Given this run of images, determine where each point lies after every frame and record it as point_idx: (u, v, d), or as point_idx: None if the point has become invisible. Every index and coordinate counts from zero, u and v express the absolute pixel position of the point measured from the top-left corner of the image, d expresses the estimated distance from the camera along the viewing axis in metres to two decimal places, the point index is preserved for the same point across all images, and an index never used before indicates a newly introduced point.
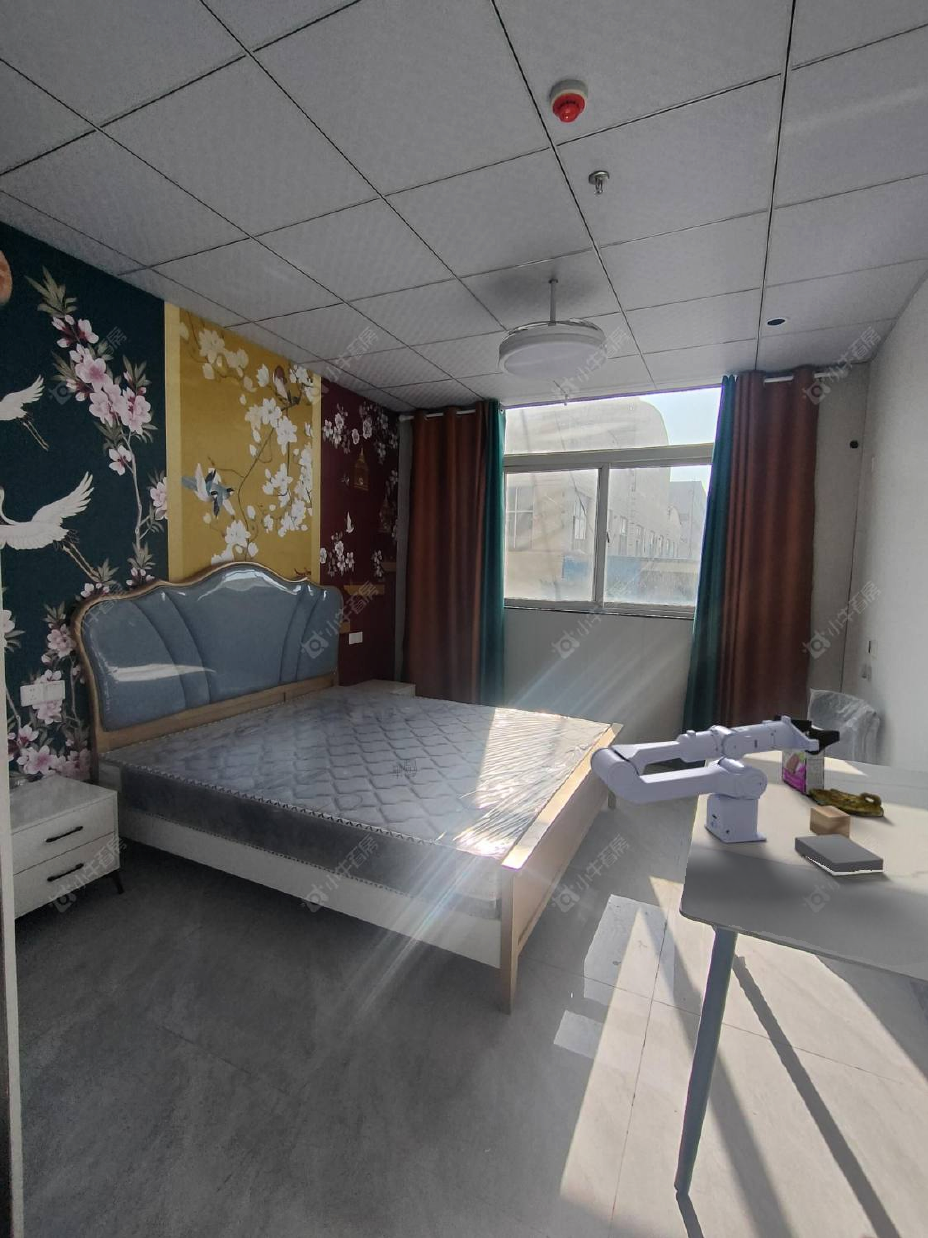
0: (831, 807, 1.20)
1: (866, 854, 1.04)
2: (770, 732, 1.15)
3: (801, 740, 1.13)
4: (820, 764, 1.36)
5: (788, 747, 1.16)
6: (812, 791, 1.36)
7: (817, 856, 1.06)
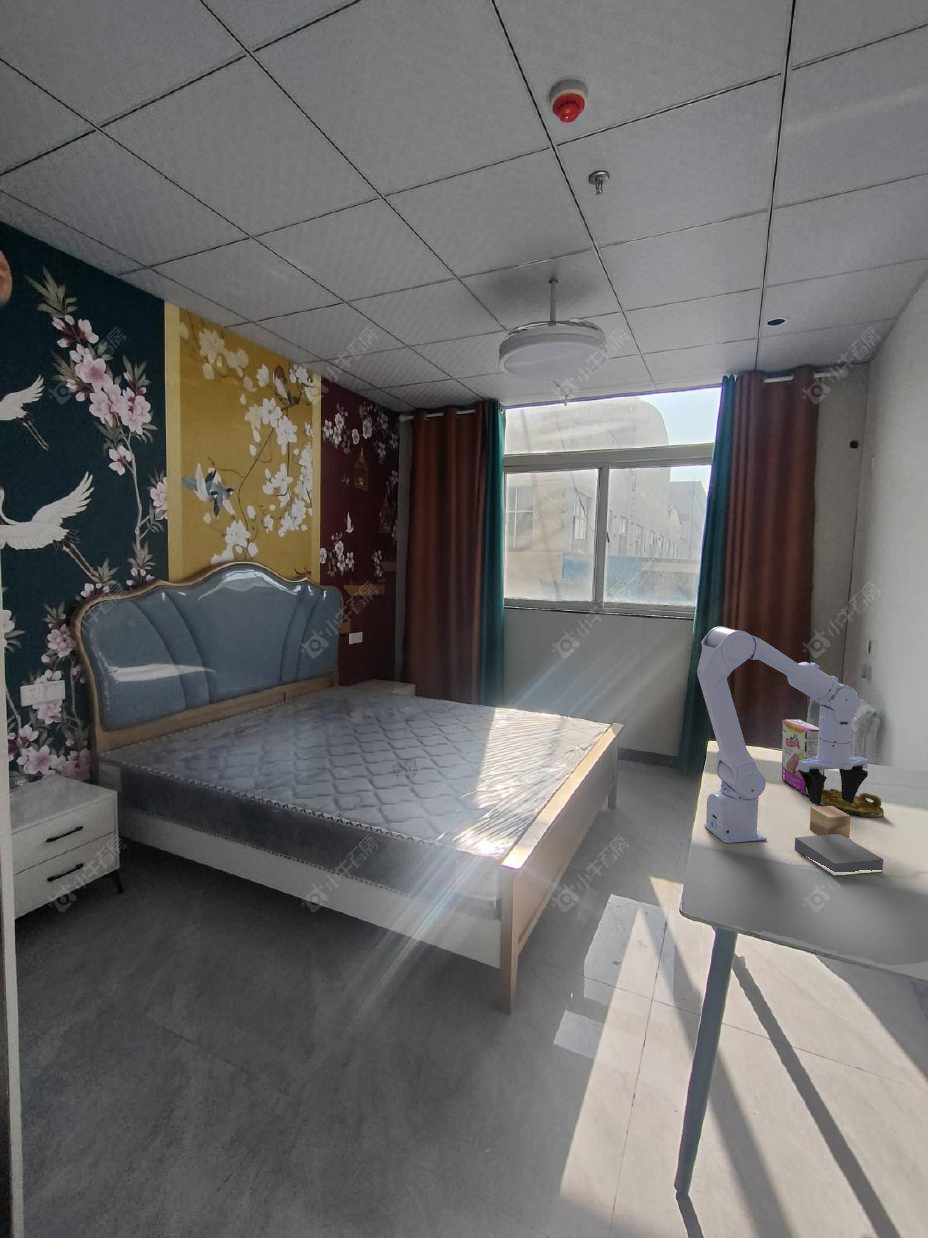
0: (831, 807, 1.20)
1: (866, 854, 1.04)
2: (850, 740, 1.14)
3: (814, 762, 1.16)
4: None
5: (817, 753, 1.18)
6: None
7: (817, 856, 1.06)
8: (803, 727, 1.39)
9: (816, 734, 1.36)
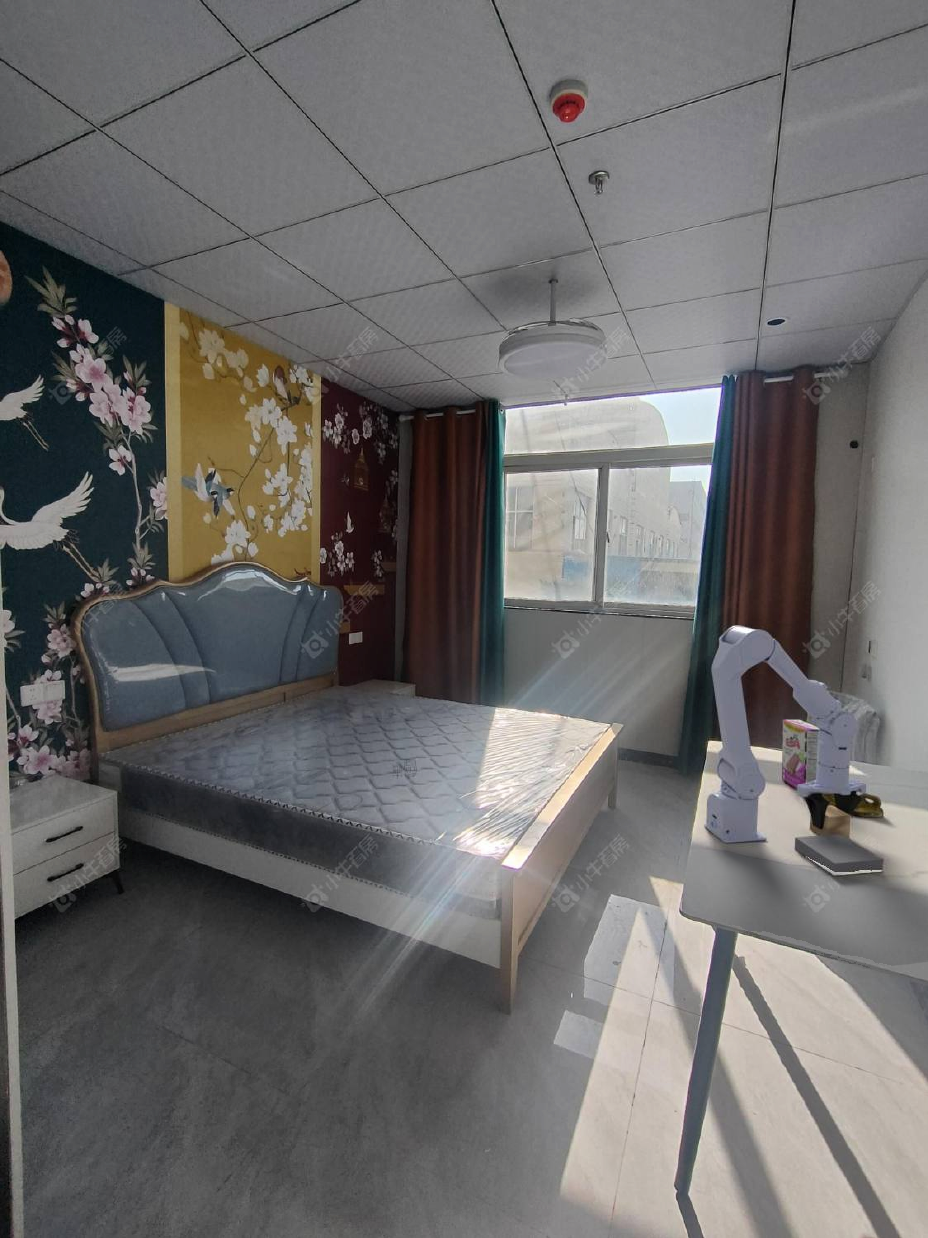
0: (831, 807, 1.20)
1: (866, 854, 1.04)
2: (848, 765, 1.14)
3: (813, 786, 1.16)
4: None
5: (816, 778, 1.19)
6: None
7: (817, 856, 1.06)
8: (803, 727, 1.39)
9: (816, 734, 1.36)
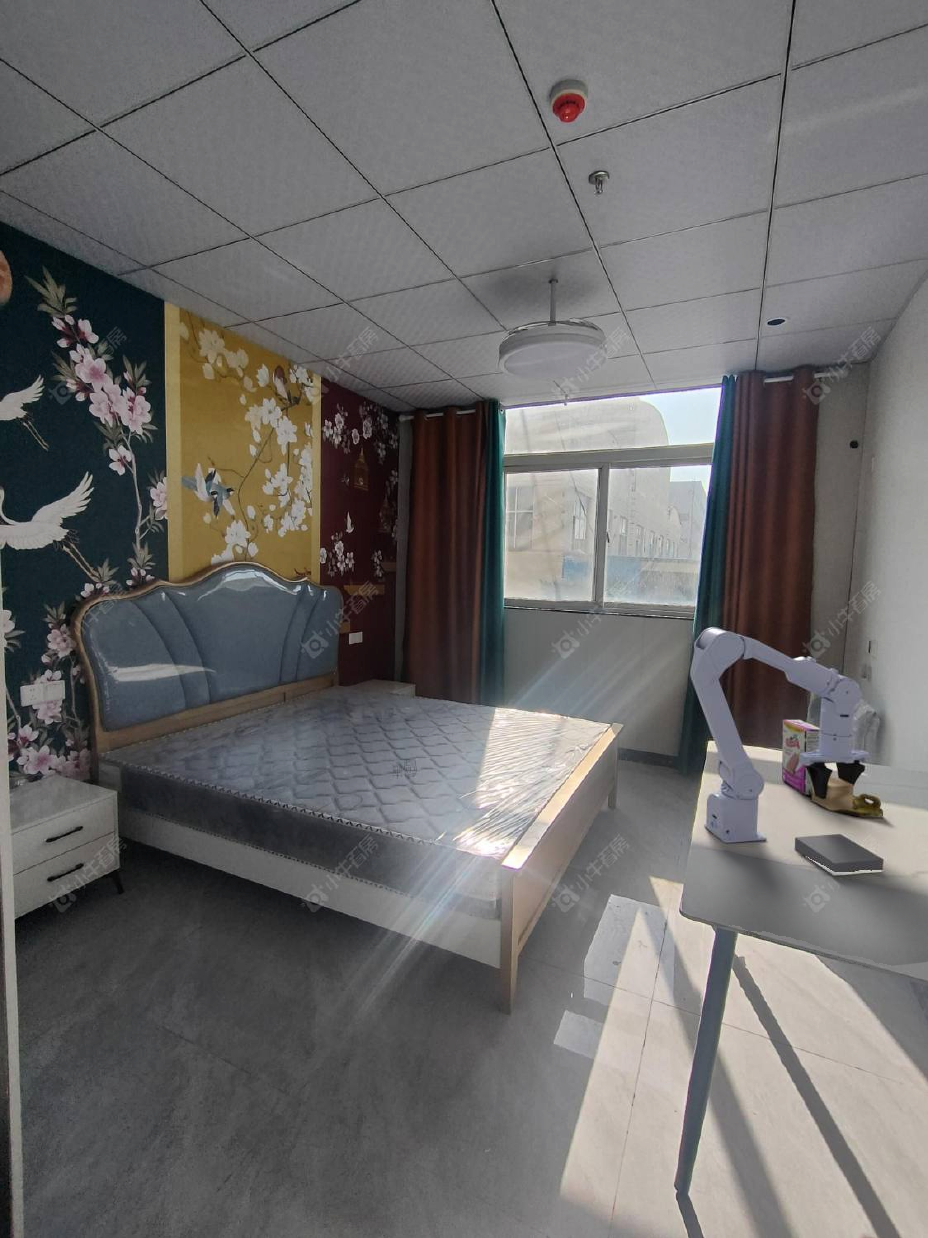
0: (833, 777, 1.17)
1: (866, 854, 1.04)
2: (851, 733, 1.12)
3: (815, 755, 1.14)
4: None
5: None
6: (811, 791, 1.35)
7: (817, 856, 1.06)
8: (803, 727, 1.38)
9: (816, 734, 1.36)
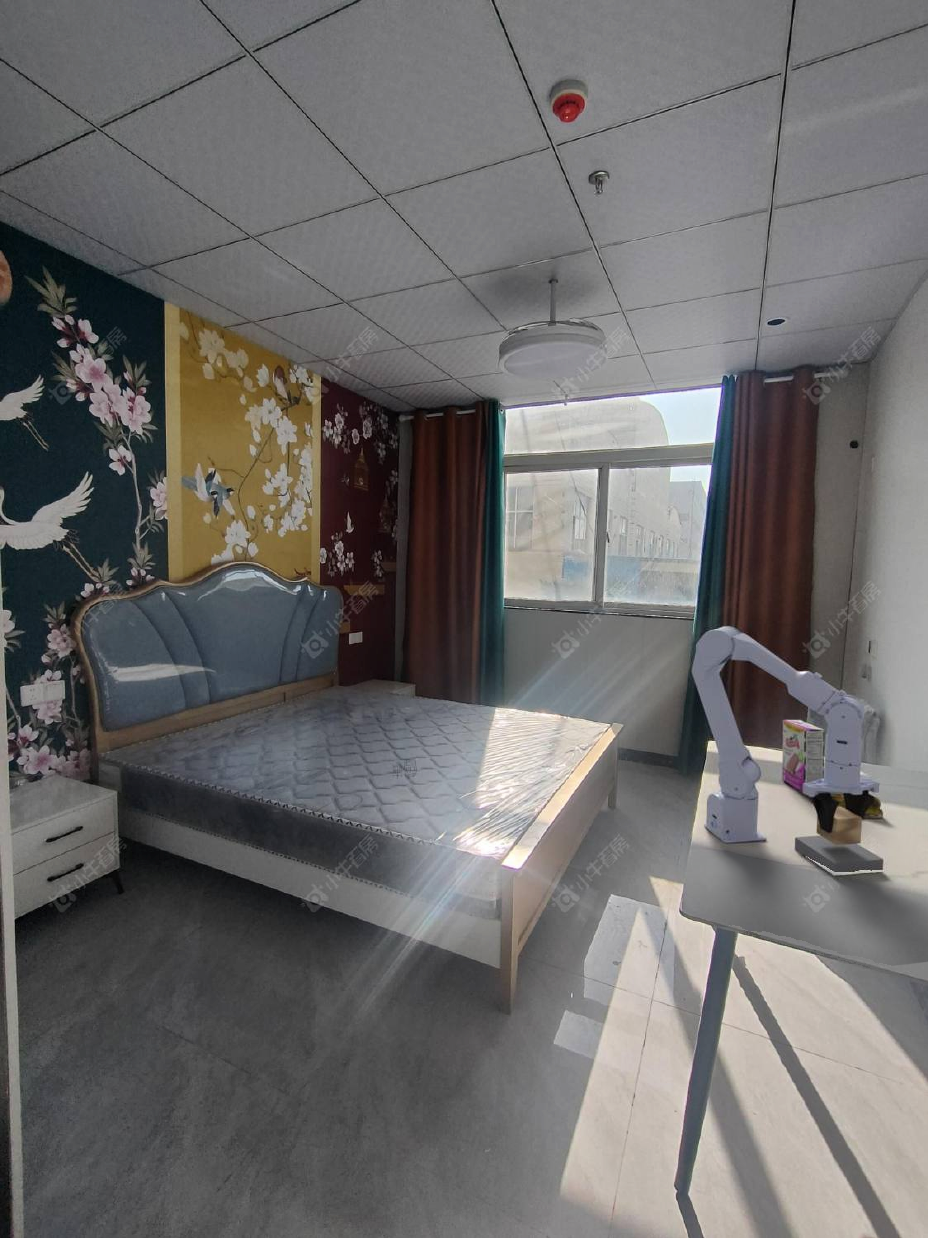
0: (840, 808, 1.08)
1: (866, 854, 1.04)
2: (853, 763, 1.03)
3: (820, 785, 1.05)
4: (820, 764, 1.36)
5: (824, 776, 1.07)
6: None
7: (817, 856, 1.06)
8: (802, 727, 1.38)
9: (816, 734, 1.36)
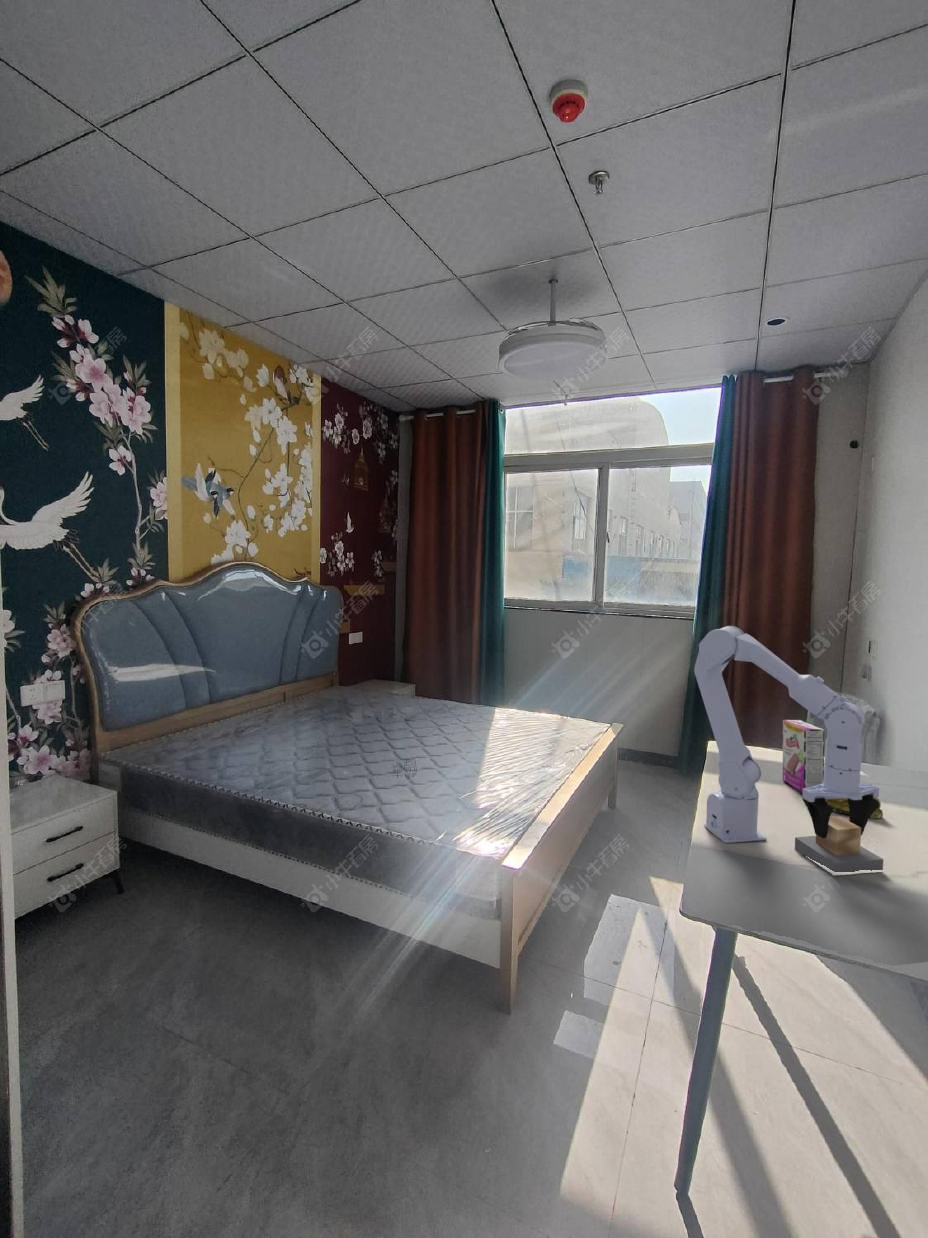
0: (839, 818, 1.09)
1: (866, 854, 1.04)
2: (852, 768, 1.03)
3: (820, 791, 1.05)
4: (819, 764, 1.36)
5: (823, 781, 1.08)
6: None
7: (817, 856, 1.06)
8: (802, 727, 1.38)
9: (815, 734, 1.36)
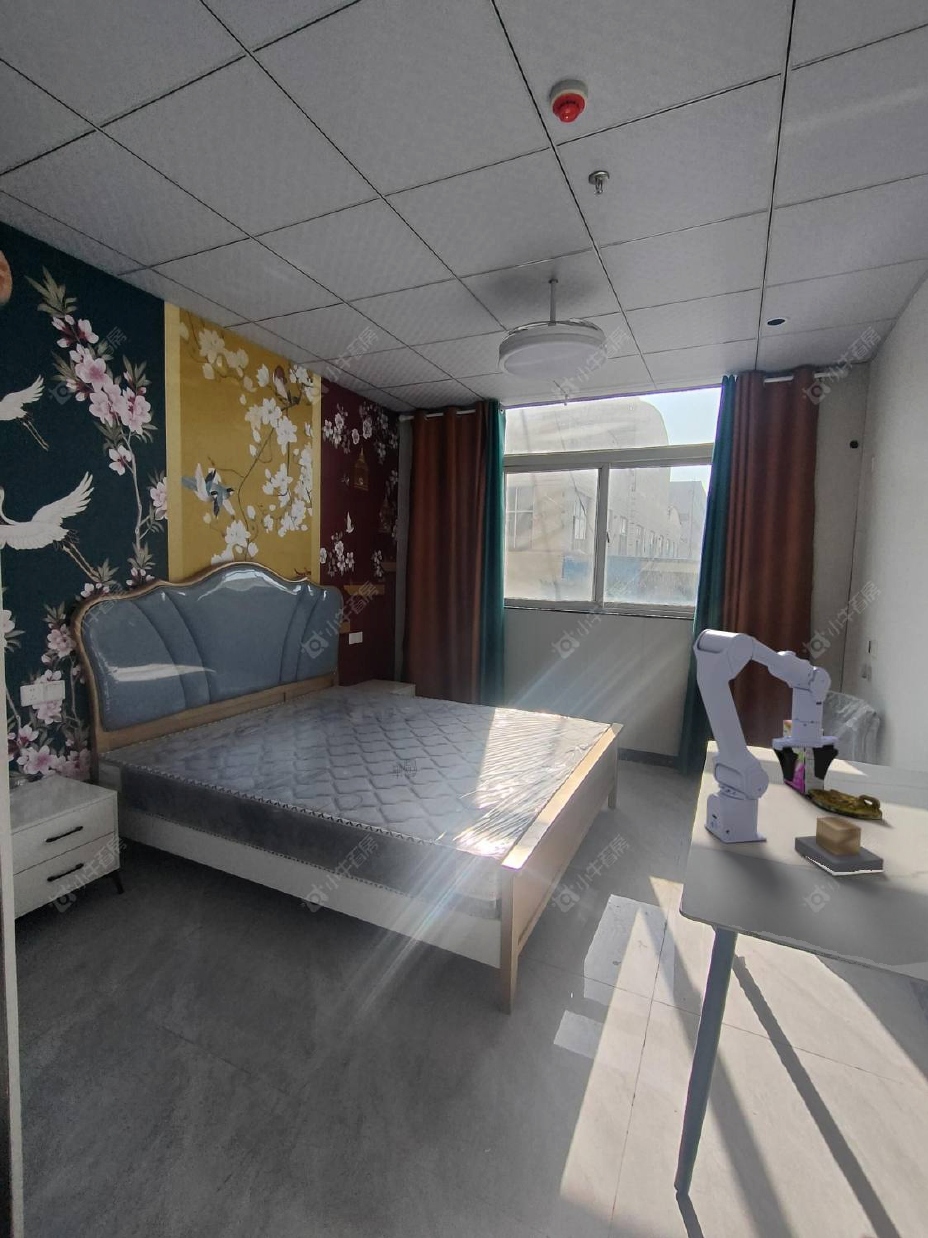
0: (839, 818, 1.09)
1: (866, 854, 1.04)
2: None
3: (787, 741, 1.22)
4: None
5: (791, 733, 1.24)
6: (811, 791, 1.35)
7: (817, 856, 1.06)
8: None
9: None
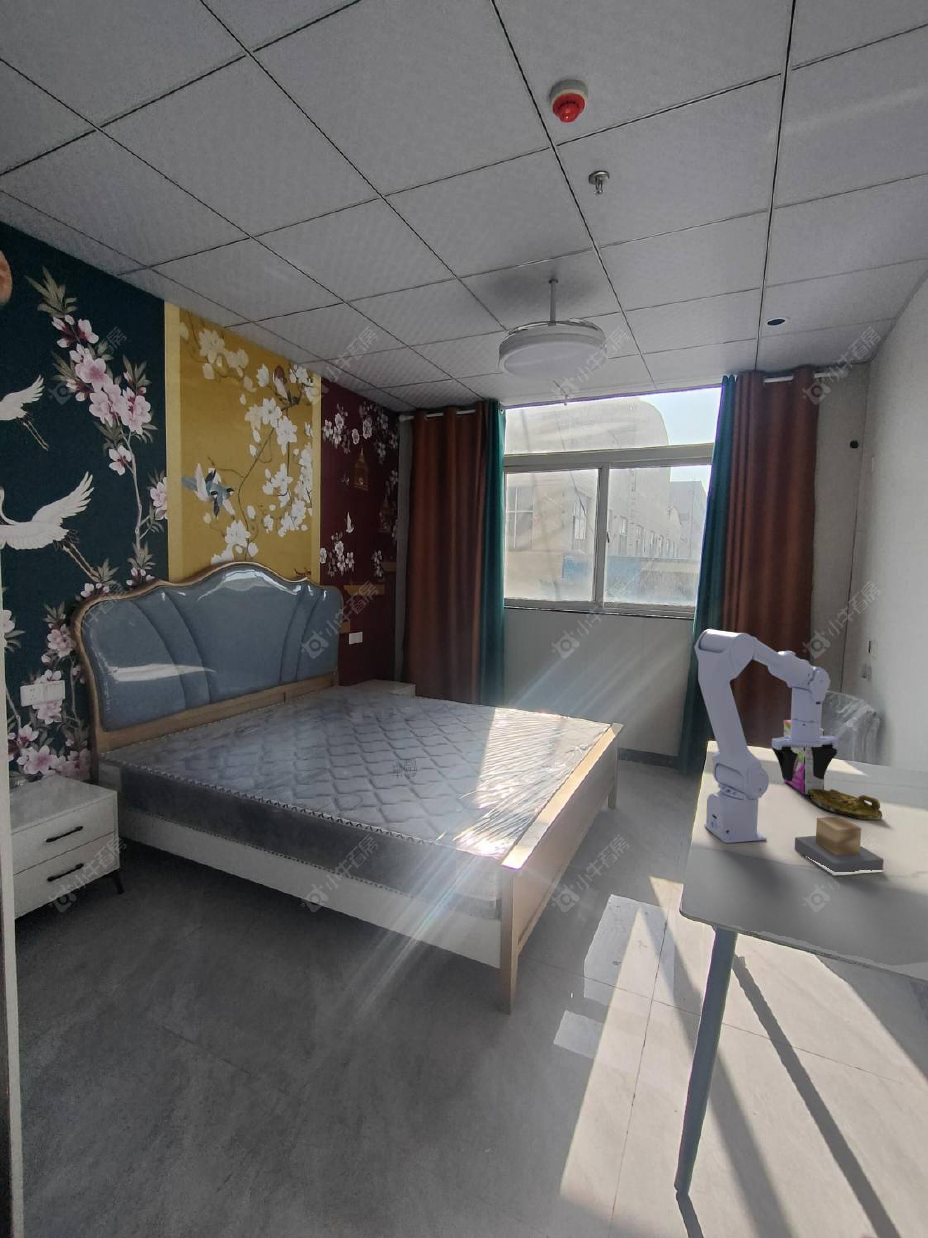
0: (839, 818, 1.09)
1: (866, 854, 1.04)
2: None
3: (786, 740, 1.22)
4: None
5: (790, 733, 1.25)
6: (811, 791, 1.34)
7: (817, 856, 1.06)
8: None
9: None
